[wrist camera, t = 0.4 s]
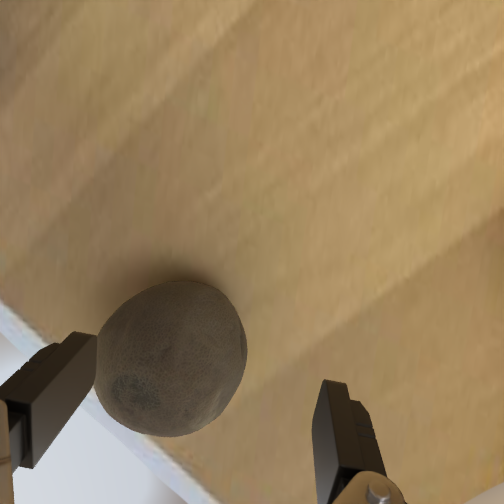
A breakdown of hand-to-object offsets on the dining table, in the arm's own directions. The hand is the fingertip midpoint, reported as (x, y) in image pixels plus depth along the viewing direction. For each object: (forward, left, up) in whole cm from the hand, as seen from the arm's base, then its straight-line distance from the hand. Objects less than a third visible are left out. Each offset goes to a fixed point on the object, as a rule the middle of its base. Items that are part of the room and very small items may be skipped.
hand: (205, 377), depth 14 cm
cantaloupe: (+14, -5, -29) cm, 33 cm away
